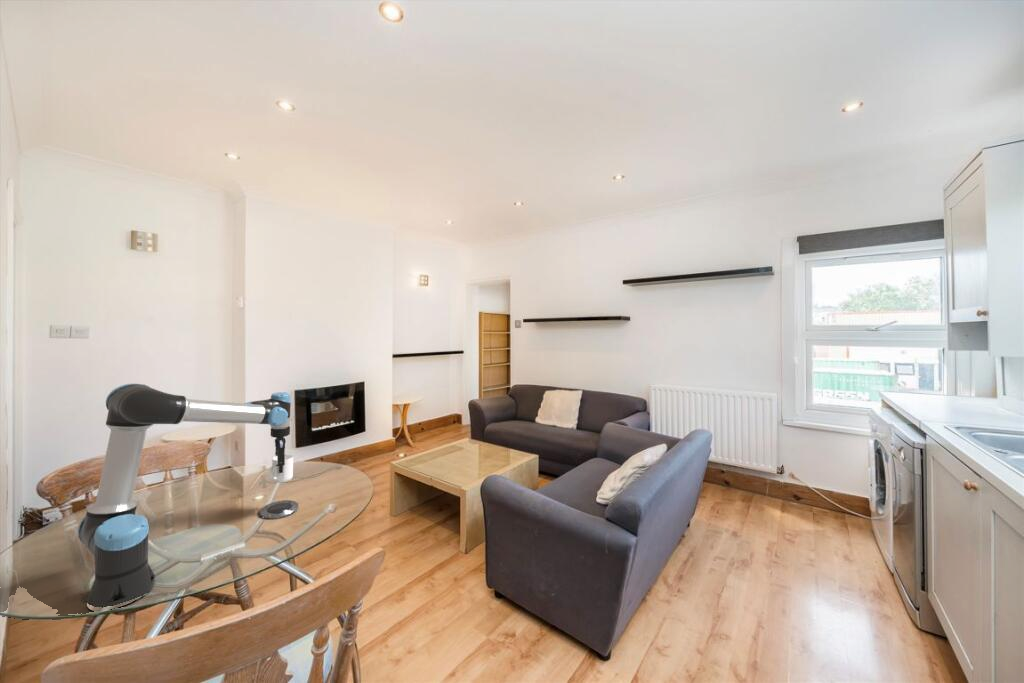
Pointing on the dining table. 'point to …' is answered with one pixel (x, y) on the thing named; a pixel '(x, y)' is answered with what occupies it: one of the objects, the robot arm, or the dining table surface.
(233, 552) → the dining table surface
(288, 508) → the metal plate
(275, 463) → the mug
